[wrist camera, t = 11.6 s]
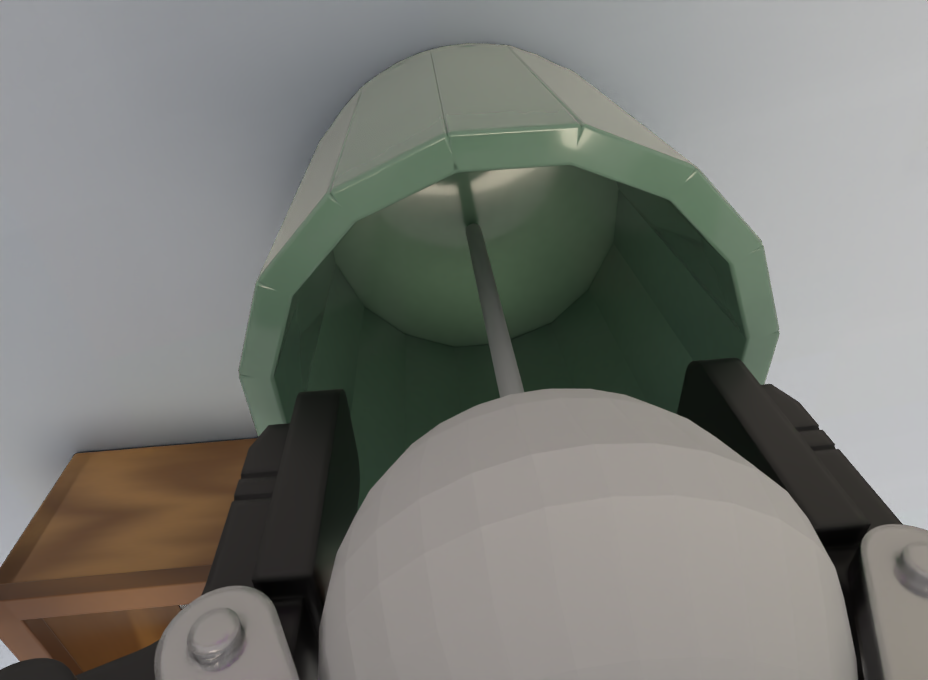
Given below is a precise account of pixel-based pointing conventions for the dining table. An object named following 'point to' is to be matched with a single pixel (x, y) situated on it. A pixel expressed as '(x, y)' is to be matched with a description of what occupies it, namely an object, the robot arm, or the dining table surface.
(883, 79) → the dining table surface
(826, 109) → the dining table surface
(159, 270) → the dining table surface
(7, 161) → the dining table surface
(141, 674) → the robot arm
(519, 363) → the holder cup
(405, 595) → the lollipop
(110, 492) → the wooden box
